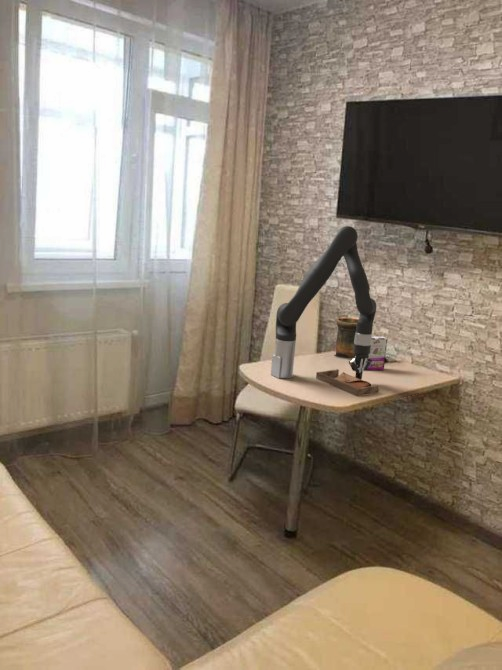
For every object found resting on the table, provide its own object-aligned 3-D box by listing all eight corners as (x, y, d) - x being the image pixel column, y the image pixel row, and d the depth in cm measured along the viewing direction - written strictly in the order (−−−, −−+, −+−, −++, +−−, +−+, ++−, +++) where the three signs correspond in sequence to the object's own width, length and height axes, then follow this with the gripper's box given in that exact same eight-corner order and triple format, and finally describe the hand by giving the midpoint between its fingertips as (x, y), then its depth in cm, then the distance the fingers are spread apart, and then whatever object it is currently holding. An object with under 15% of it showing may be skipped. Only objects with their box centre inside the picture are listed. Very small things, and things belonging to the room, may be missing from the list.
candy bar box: (379, 367, 280) (383, 336, 276) (384, 370, 275) (388, 338, 271) (359, 367, 277) (362, 335, 274) (362, 370, 273) (366, 337, 269)
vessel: (365, 357, 298) (369, 320, 293) (351, 361, 288) (354, 324, 283) (342, 351, 307) (346, 315, 303) (328, 355, 297) (331, 319, 292)
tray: (356, 396, 233) (357, 389, 232) (315, 378, 253) (316, 372, 253) (378, 392, 240) (378, 385, 239) (336, 375, 261) (337, 369, 260)
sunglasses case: (329, 380, 252) (336, 367, 253) (337, 386, 256) (344, 373, 257) (358, 392, 238) (365, 379, 239) (367, 398, 242) (374, 385, 243)
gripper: (366, 339, 254) (362, 376, 258) (346, 342, 246) (341, 379, 250) (379, 343, 248) (374, 380, 252) (358, 346, 240) (353, 384, 244)
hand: (358, 379), depth 251 cm, fingers closed
